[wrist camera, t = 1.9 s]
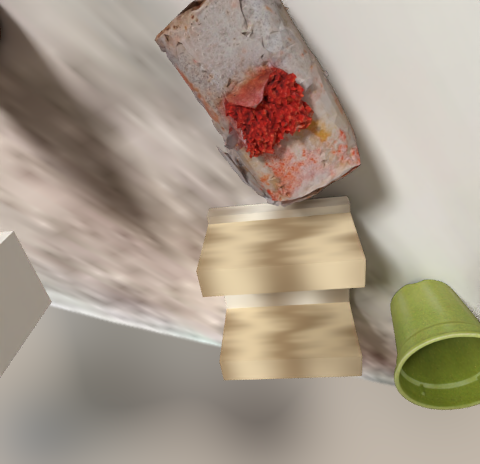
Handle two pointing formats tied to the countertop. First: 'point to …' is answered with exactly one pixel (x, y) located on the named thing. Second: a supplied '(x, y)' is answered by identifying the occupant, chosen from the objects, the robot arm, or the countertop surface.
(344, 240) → the stand
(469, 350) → the plant pot
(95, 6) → the countertop surface
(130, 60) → the countertop surface
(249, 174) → the food item
